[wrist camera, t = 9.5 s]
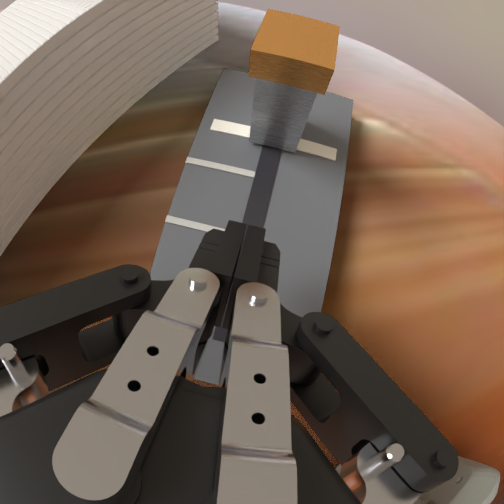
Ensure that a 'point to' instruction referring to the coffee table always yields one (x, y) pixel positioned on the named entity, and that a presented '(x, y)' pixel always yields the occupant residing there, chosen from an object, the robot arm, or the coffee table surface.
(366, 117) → the coffee table surface
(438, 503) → the digital clock
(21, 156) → the stack of papers
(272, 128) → the fader
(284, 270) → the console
